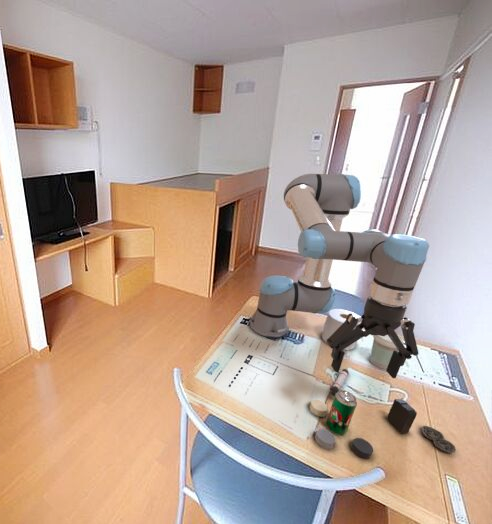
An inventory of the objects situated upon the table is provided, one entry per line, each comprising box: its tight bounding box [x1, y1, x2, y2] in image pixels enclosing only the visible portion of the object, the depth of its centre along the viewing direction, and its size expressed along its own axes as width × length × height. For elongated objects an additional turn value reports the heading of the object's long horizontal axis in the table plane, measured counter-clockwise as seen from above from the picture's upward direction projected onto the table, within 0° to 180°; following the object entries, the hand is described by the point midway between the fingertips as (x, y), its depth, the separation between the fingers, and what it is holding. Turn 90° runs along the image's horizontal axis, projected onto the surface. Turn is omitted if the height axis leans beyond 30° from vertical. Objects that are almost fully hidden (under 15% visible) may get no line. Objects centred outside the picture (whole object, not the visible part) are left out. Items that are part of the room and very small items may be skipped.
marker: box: [330, 368, 350, 396], centre depth 101 cm, size 15×2×2 cm, turn 134°
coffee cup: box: [369, 334, 405, 370], centre depth 109 cm, size 8×8×12 cm
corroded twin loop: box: [421, 425, 456, 454], centre depth 82 cm, size 5×8×1 cm, turn 3°
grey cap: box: [314, 428, 336, 450], centre depth 82 cm, size 4×4×2 cm
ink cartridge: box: [386, 398, 418, 434], centre depth 85 cm, size 5×2×8 cm, turn 2°
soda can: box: [325, 389, 358, 436], centre depth 84 cm, size 5×5×12 cm
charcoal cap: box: [350, 437, 374, 460], centre depth 79 cm, size 4×4×2 cm
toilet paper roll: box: [321, 308, 361, 351], centre depth 121 cm, size 12×12×12 cm
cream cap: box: [309, 399, 329, 418], centre depth 91 cm, size 4×4×2 cm
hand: (362, 371), depth 80 cm, fingers open, 13 cm apart
